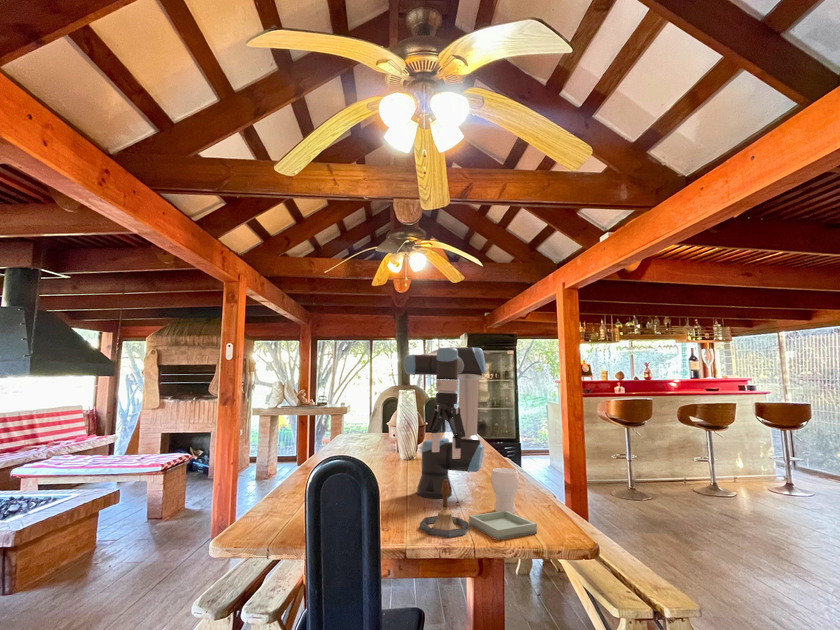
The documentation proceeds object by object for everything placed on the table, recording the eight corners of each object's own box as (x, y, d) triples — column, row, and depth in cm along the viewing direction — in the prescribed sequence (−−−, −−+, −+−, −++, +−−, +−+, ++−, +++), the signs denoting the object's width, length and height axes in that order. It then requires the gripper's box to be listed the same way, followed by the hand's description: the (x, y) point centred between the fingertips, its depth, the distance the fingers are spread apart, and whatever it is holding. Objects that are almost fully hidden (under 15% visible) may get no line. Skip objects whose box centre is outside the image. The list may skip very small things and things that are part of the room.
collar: (413, 524, 152) (413, 519, 152) (451, 519, 159) (451, 513, 159) (435, 539, 138) (435, 533, 139) (476, 532, 145) (476, 527, 146)
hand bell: (461, 529, 149) (462, 479, 151) (445, 535, 143) (446, 483, 145) (442, 523, 154) (443, 475, 157) (426, 528, 148) (427, 479, 151)
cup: (519, 516, 164) (519, 474, 166) (490, 513, 166) (490, 472, 168) (518, 508, 174) (518, 468, 177) (491, 506, 177) (491, 466, 179)
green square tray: (469, 524, 153) (469, 515, 154) (505, 519, 161) (505, 510, 161) (497, 540, 139) (497, 530, 140) (536, 533, 147) (536, 523, 147)
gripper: (420, 390, 164) (418, 450, 161) (456, 393, 142) (455, 462, 139) (438, 391, 168) (436, 449, 164) (476, 393, 146) (475, 460, 143)
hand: (445, 455), depth 152 cm, fingers open, 13 cm apart
